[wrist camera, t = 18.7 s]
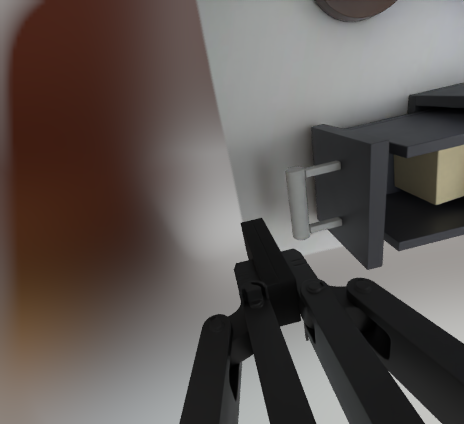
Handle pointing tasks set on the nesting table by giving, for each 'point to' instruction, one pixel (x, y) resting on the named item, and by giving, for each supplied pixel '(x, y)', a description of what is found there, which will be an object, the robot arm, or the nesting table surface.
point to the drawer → (376, 185)
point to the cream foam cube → (432, 175)
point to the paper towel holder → (354, 8)
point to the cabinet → (437, 99)
